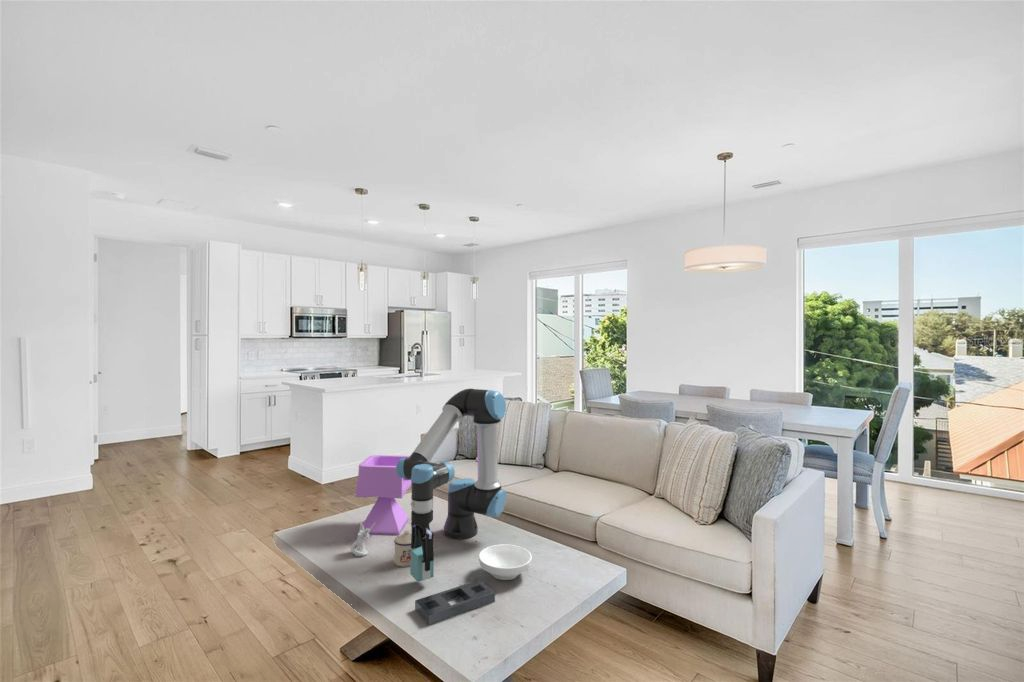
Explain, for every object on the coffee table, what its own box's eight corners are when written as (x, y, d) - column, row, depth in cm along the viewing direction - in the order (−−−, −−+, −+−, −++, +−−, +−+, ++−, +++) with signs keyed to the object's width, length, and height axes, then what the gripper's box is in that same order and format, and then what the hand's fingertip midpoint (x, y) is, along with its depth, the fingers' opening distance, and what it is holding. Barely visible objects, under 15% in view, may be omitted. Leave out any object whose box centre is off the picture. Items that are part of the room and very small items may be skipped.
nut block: (426, 569, 175) (426, 545, 175) (433, 576, 170) (433, 551, 170) (410, 574, 172) (410, 549, 172) (417, 582, 167) (417, 556, 167)
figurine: (357, 560, 189) (357, 529, 189) (346, 553, 194) (347, 523, 194) (381, 550, 197) (381, 521, 197) (370, 545, 202) (370, 516, 202)
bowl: (537, 567, 185) (538, 549, 185) (521, 593, 167) (522, 572, 167) (490, 558, 192) (490, 540, 192) (469, 582, 173) (470, 562, 173)
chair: (400, 536, 211) (402, 467, 210) (355, 535, 211) (356, 466, 211) (411, 518, 231) (412, 455, 230) (369, 517, 231) (370, 454, 231)
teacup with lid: (399, 569, 181) (400, 538, 181) (390, 560, 189) (390, 530, 188) (428, 561, 188) (429, 531, 188) (418, 552, 196) (419, 523, 196)
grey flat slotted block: (479, 588, 169) (479, 579, 169) (494, 601, 161) (495, 592, 161) (414, 609, 155) (415, 600, 155) (428, 625, 147) (428, 615, 147)
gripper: (401, 503, 176) (401, 566, 177) (424, 521, 160) (423, 590, 161) (420, 499, 180) (420, 560, 181) (444, 516, 165) (444, 583, 166)
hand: (422, 574), depth 171 cm, fingers closed on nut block, 6 cm apart
